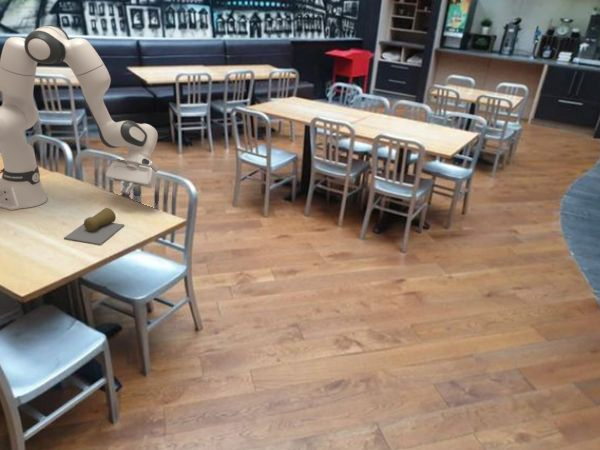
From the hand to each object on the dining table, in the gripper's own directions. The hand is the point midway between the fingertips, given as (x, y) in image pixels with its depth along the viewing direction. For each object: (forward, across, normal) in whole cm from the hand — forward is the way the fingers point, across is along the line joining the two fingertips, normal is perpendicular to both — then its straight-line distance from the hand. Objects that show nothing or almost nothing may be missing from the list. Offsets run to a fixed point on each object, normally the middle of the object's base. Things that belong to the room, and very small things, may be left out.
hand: (124, 192), depth 181 cm
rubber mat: (+19, 0, -7) cm, 21 cm away
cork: (+11, 0, -3) cm, 11 cm away
